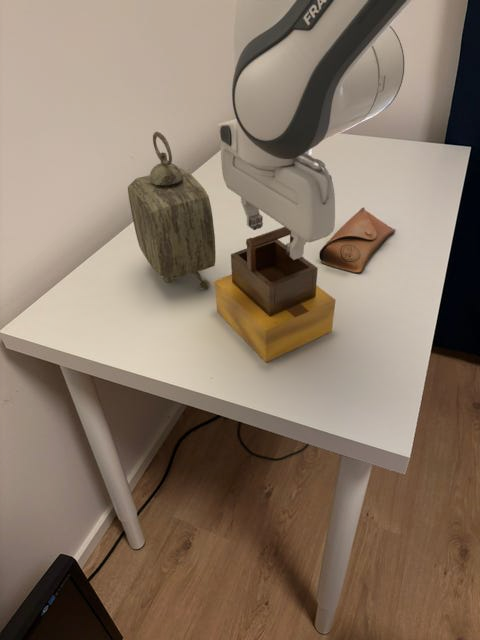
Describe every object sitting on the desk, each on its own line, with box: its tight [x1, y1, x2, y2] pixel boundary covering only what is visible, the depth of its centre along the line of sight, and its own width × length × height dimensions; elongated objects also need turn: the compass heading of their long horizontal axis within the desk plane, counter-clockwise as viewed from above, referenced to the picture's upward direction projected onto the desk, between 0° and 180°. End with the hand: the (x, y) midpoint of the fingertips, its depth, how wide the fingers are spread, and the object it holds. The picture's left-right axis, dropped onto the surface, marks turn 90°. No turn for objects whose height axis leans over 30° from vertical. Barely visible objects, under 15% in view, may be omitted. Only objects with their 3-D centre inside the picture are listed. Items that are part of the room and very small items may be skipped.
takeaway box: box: [214, 273, 336, 363], centre depth 73 cm, size 14×12×6 cm
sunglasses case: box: [318, 207, 396, 274], centre depth 90 cm, size 18×7×7 cm, turn 147°
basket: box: [230, 226, 319, 317], centre depth 68 cm, size 10×8×10 cm
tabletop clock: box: [127, 131, 216, 290], centre depth 77 cm, size 14×9×25 cm, turn 27°
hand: (273, 241), depth 66 cm, fingers open, 8 cm apart
